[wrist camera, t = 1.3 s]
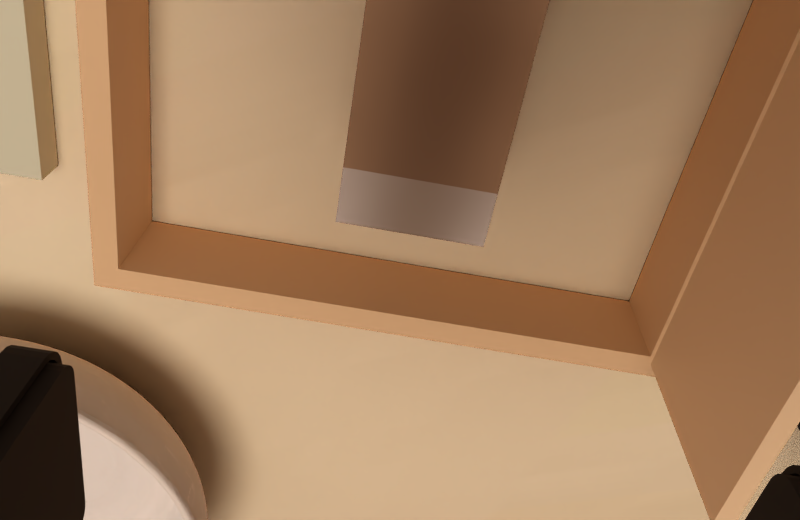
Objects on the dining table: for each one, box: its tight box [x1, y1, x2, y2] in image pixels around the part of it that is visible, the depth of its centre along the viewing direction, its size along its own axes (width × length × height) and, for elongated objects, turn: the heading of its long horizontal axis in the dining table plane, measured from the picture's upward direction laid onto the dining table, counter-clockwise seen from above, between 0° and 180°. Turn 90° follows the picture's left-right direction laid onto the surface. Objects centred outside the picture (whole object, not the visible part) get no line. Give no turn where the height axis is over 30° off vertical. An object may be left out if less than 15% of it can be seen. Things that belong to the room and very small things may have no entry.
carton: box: [75, 0, 800, 520], centre depth 23 cm, size 24×22×12 cm
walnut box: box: [336, 0, 550, 247], centre depth 25 cm, size 5×9×7 cm, turn 170°
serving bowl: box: [0, 336, 208, 520], centre depth 37 cm, size 21×21×7 cm
